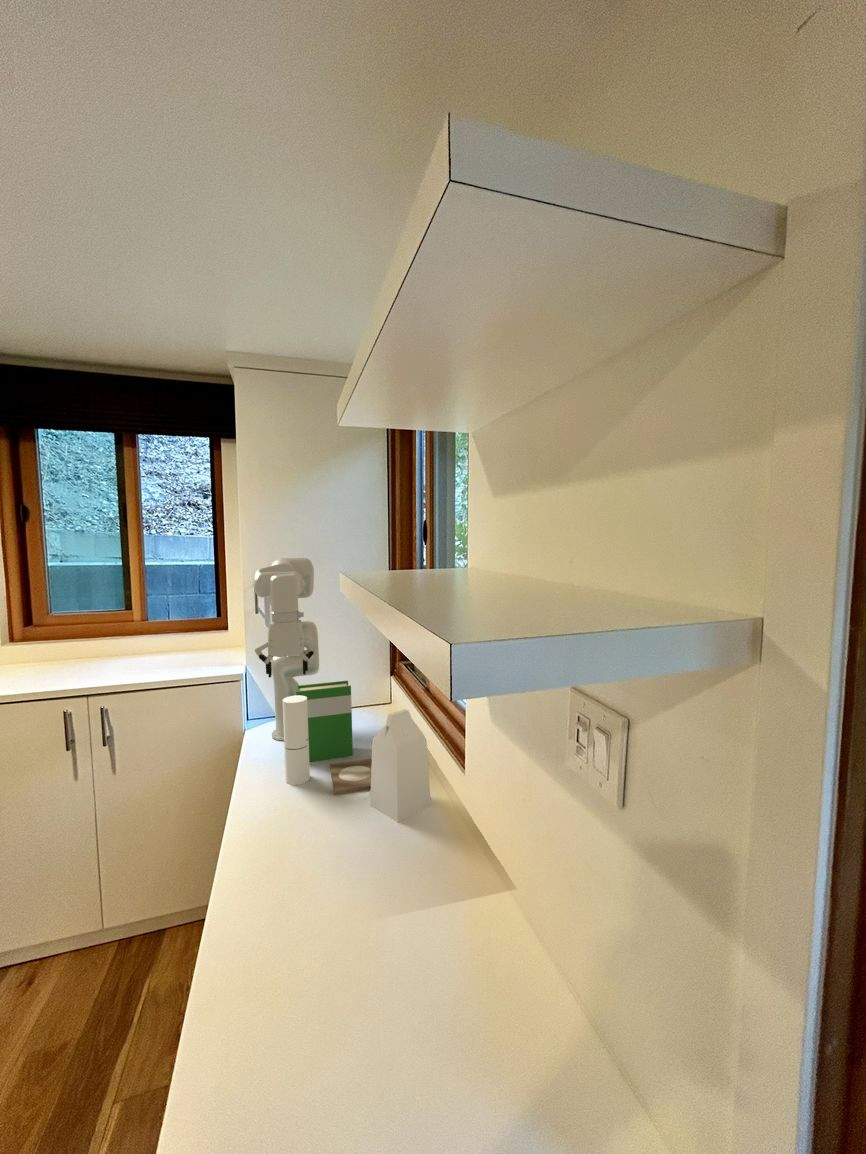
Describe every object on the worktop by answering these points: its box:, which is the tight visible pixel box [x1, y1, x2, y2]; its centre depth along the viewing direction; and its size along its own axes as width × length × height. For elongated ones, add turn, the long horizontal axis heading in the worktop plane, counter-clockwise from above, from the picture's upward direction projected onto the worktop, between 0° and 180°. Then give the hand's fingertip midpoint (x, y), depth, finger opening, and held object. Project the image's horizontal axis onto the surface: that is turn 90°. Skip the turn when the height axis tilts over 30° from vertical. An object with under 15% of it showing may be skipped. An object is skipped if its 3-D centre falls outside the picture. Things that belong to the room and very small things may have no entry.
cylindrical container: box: [283, 695, 311, 786], centre depth 150 cm, size 7×7×25 cm
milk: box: [369, 708, 432, 823], centre depth 134 cm, size 12×12×26 cm
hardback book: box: [295, 680, 354, 763], centre depth 167 cm, size 18×7×24 cm, turn 108°
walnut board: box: [329, 758, 372, 796], centre depth 152 cm, size 18×14×1 cm
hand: (287, 674), depth 145 cm, fingers open, 9 cm apart
